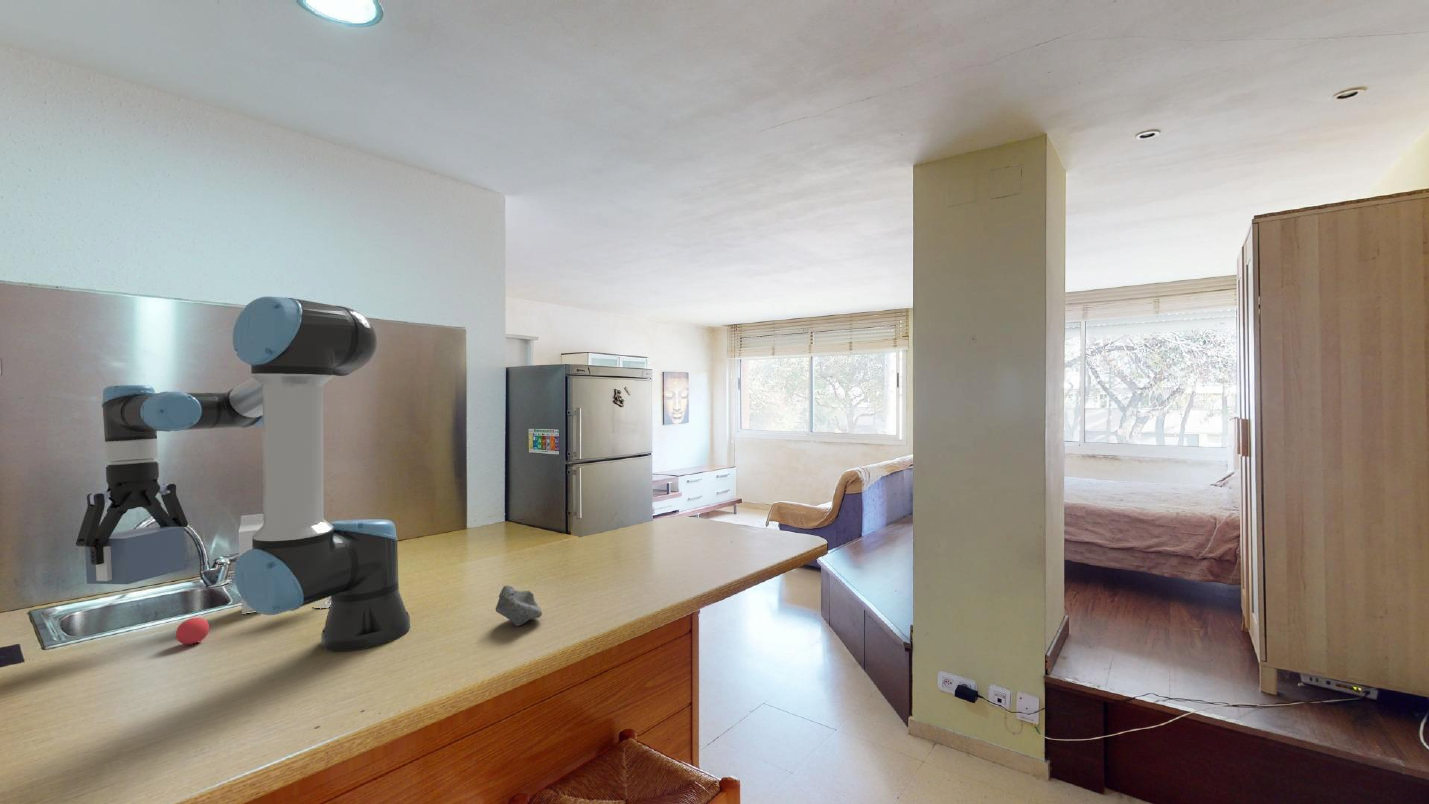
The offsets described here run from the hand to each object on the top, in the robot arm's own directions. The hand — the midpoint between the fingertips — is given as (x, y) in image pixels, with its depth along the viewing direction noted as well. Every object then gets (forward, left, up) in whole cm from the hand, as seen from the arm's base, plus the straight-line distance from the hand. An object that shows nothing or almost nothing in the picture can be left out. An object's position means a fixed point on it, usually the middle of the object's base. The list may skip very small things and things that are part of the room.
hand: (137, 572), depth 117 cm
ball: (-12, -1, -12) cm, 17 cm away
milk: (-6, -20, -15) cm, 25 cm away
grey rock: (-74, -17, -15) cm, 77 cm away
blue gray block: (0, 0, -1) cm, 1 cm away
